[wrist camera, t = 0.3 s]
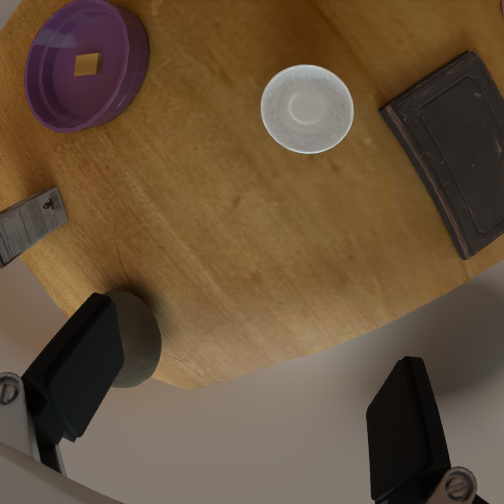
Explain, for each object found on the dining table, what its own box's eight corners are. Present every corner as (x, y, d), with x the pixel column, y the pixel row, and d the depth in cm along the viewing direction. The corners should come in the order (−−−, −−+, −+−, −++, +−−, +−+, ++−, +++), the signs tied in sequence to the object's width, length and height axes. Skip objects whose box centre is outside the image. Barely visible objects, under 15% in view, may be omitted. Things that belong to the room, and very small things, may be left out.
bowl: (56, 17, 29) (32, 14, 25) (159, -2, 28) (140, -13, 23) (46, 126, 38) (22, 133, 33) (143, 128, 37) (121, 134, 32)
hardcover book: (466, 50, 25) (475, 48, 23) (532, 197, 31) (540, 202, 29) (376, 110, 32) (381, 111, 30) (457, 254, 37) (464, 262, 35)
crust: (81, 56, 32) (76, 55, 31) (103, 53, 32) (98, 52, 31) (79, 75, 33) (73, 76, 32) (100, 73, 33) (95, 73, 32)
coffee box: (38, 228, 47) (-23, 273, 33) (27, 196, 44) (-39, 234, 30) (70, 220, 45) (3, 269, 31) (58, 184, 42) (-15, 224, 28)
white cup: (268, 135, 35) (256, 147, 26) (275, 70, 31) (265, 59, 23) (335, 145, 34) (346, 160, 26) (344, 81, 31) (359, 73, 22)
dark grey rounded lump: (100, 317, 54) (58, 371, 41) (111, 260, 47) (57, 316, 34) (165, 352, 55) (134, 415, 42) (188, 301, 48) (151, 371, 35)
